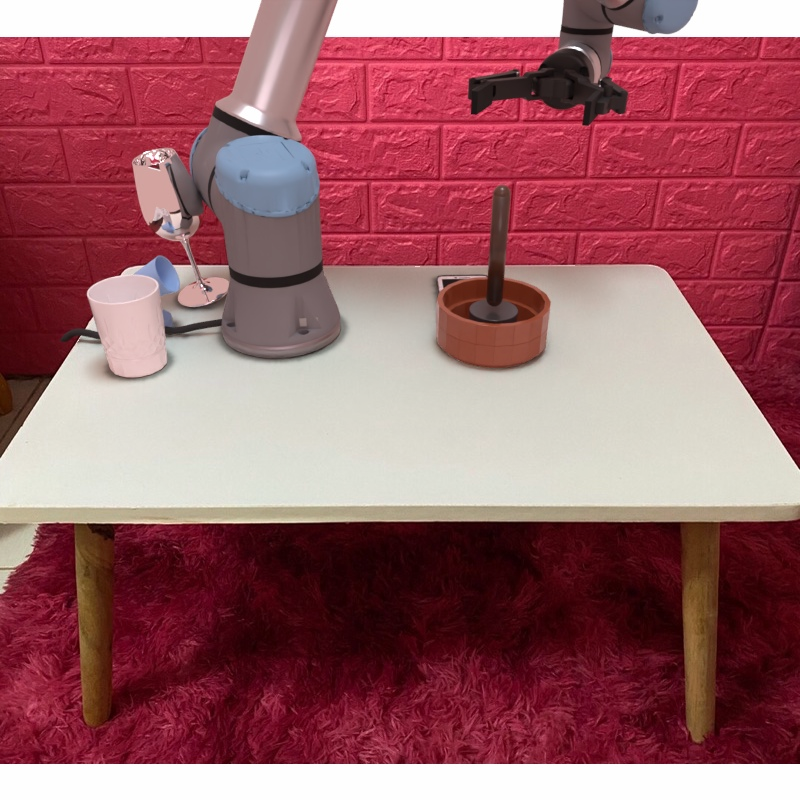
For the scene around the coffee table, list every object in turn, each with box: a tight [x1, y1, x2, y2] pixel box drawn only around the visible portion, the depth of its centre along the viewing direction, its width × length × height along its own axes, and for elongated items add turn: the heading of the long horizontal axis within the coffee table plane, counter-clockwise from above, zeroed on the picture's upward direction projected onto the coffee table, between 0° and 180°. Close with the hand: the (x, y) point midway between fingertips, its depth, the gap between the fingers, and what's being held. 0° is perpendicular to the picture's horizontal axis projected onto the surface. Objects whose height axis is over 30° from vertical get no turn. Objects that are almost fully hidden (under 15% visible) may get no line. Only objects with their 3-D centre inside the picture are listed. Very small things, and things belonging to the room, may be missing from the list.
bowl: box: [435, 277, 552, 369], centre depth 96 cm, size 14×14×6 cm
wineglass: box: [131, 147, 230, 308], centre depth 102 cm, size 8×8×20 cm
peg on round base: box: [469, 184, 518, 324], centre depth 92 cm, size 6×6×20 cm
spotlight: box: [132, 255, 181, 335], centre depth 99 cm, size 5×10×7 cm
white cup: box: [86, 274, 168, 378], centre depth 91 cm, size 8×8×10 cm
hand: (529, 108), depth 91 cm, fingers open, 13 cm apart
